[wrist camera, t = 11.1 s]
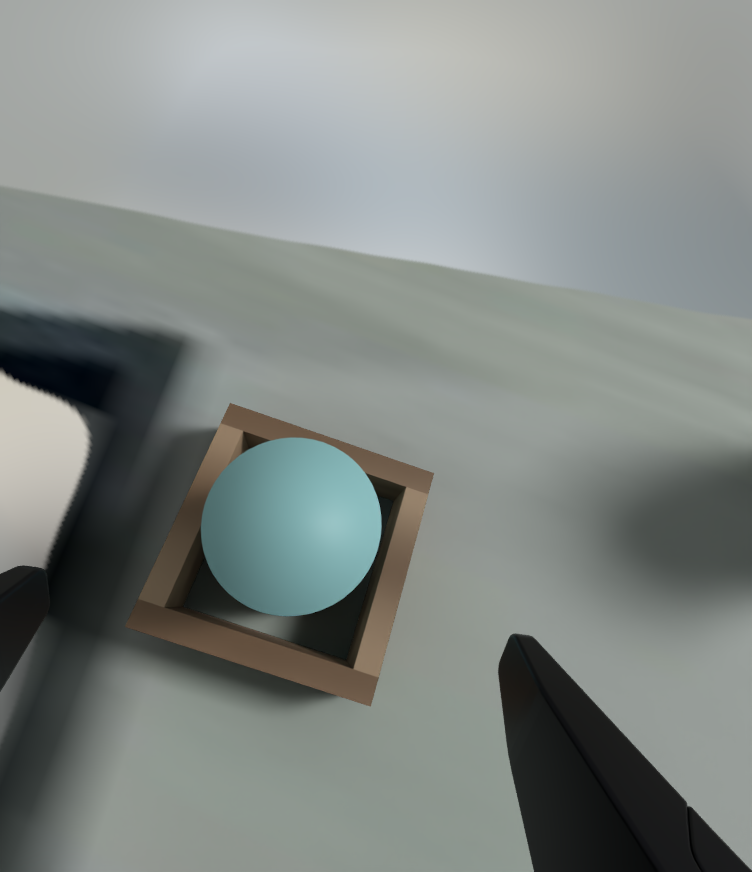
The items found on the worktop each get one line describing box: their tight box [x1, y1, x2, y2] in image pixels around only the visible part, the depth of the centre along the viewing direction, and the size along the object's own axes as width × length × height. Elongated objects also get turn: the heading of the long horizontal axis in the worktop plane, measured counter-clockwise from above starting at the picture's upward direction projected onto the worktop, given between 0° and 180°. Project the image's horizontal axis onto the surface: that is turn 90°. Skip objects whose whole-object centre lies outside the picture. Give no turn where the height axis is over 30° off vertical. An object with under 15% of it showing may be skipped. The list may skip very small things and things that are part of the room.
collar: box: [125, 403, 434, 706], centre depth 20 cm, size 9×9×3 cm
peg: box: [201, 438, 381, 616], centre depth 17 cm, size 5×5×9 cm
